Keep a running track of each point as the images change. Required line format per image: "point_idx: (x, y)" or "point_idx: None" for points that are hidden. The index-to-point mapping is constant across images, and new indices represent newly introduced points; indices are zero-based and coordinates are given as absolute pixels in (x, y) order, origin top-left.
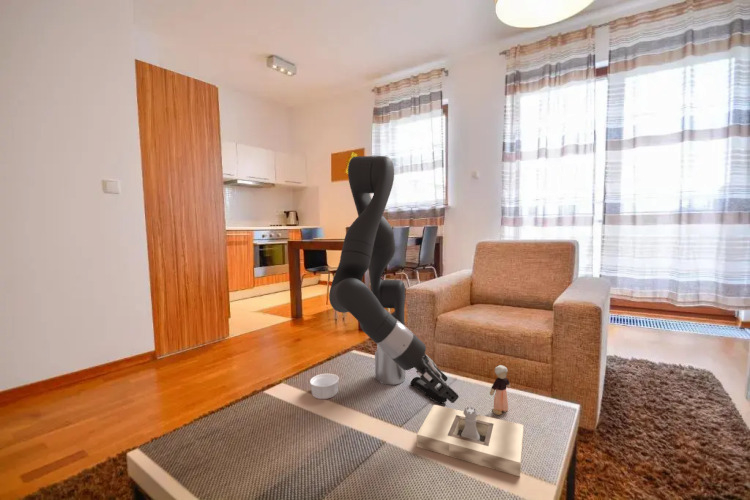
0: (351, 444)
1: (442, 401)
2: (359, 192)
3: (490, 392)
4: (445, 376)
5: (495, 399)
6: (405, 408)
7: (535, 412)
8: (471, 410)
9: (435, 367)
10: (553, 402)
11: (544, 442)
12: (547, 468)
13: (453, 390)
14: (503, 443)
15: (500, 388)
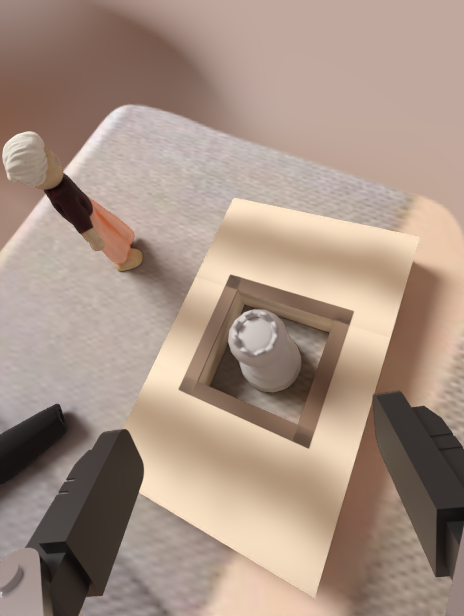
0: None
1: (63, 423)
2: None
3: (95, 245)
4: (114, 446)
5: (108, 244)
6: None
7: (140, 174)
8: (254, 329)
9: (46, 575)
10: (105, 133)
11: (260, 180)
12: (360, 194)
13: (402, 429)
14: (331, 264)
15: (89, 207)
